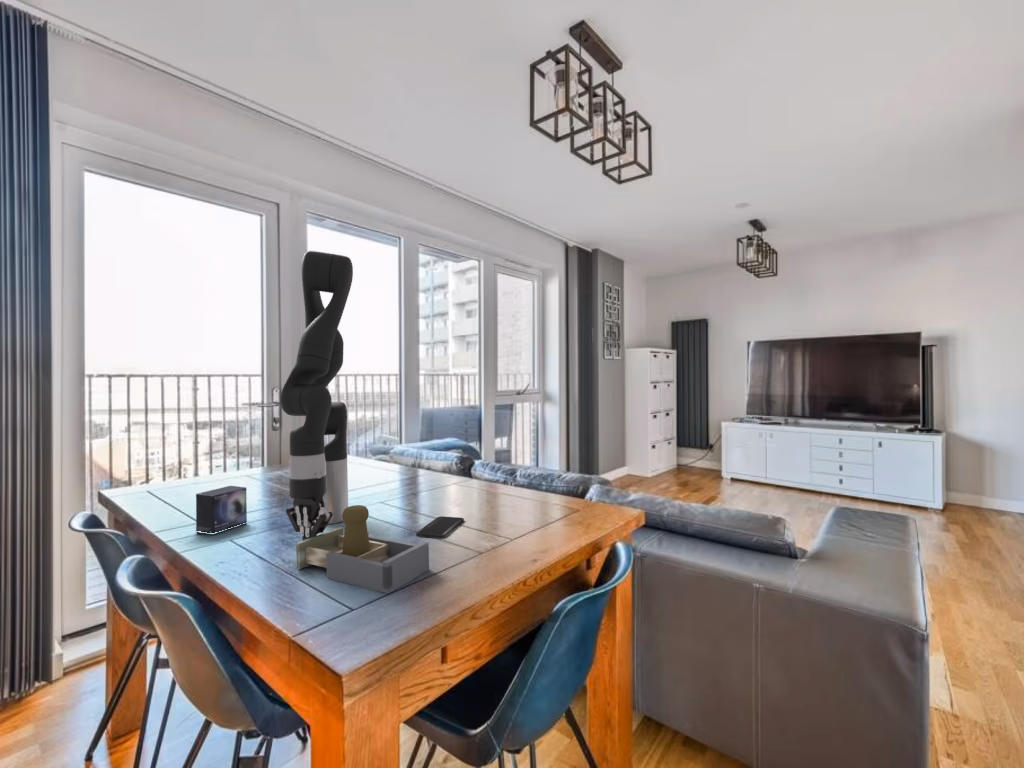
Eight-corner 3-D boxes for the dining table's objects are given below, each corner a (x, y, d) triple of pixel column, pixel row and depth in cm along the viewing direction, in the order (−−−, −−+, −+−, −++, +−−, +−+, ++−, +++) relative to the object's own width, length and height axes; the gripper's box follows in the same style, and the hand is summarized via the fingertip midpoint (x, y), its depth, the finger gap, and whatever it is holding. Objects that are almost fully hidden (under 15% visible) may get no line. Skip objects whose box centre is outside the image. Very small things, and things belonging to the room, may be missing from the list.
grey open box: (326, 577, 93) (326, 549, 93) (371, 556, 103) (370, 531, 103) (387, 593, 85) (387, 563, 85) (429, 569, 96) (428, 542, 96)
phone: (465, 517, 129) (443, 535, 114) (465, 522, 129) (443, 540, 114) (438, 516, 131) (414, 533, 116) (438, 520, 131) (414, 537, 116)
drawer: (296, 568, 97) (296, 543, 97) (340, 549, 107) (340, 527, 107) (351, 582, 90) (350, 555, 90) (393, 560, 100) (392, 536, 100)
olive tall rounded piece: (347, 553, 100) (346, 502, 100) (375, 553, 100) (374, 502, 100) (336, 564, 94) (335, 510, 94) (365, 564, 94) (364, 510, 94)
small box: (213, 536, 120) (212, 495, 120) (194, 534, 122) (193, 493, 122) (248, 523, 130) (247, 486, 130) (230, 522, 132) (230, 485, 132)
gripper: (273, 475, 103) (275, 553, 103) (313, 480, 97) (315, 563, 97) (302, 469, 110) (304, 542, 110) (342, 473, 103) (344, 551, 104)
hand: (309, 552), depth 103 cm, fingers closed
